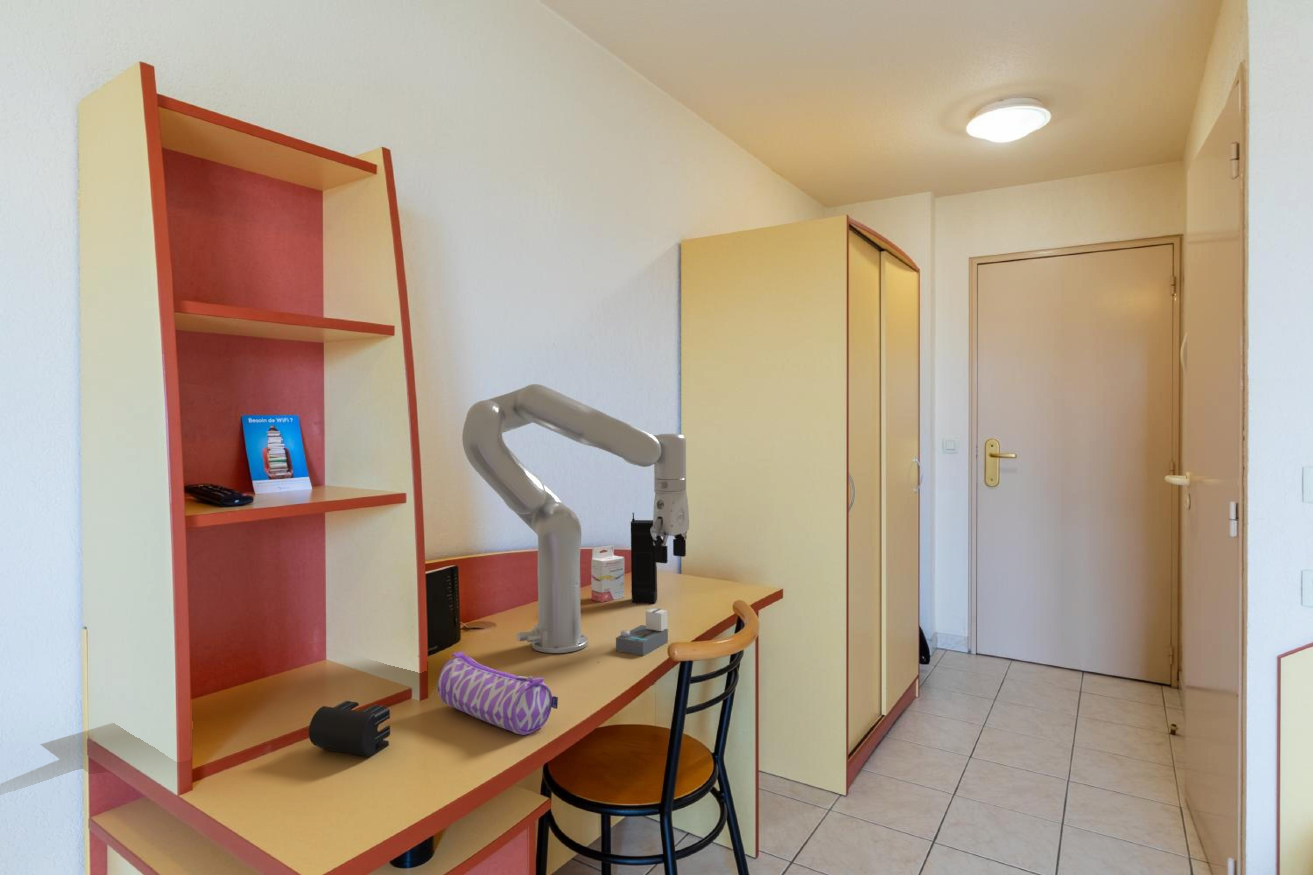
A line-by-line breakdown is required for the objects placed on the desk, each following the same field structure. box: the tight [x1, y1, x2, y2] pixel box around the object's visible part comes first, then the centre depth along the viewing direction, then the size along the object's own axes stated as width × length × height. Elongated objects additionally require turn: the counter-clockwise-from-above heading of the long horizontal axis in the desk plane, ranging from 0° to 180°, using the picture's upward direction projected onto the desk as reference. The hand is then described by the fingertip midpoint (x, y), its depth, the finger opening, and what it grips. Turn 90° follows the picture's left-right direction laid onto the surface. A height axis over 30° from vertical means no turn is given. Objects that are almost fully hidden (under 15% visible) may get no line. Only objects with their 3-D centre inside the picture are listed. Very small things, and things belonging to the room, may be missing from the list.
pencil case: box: [437, 650, 559, 736], centre depth 124 cm, size 22×9×10 cm, turn 55°
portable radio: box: [630, 512, 658, 605], centre depth 203 cm, size 8×6×25 cm
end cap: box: [308, 700, 391, 758], centre depth 113 cm, size 10×7×7 cm
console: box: [615, 624, 669, 657], centre depth 163 cm, size 11×7×4 cm, turn 150°
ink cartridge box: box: [590, 544, 625, 603], centre depth 206 cm, size 9×5×15 cm, turn 133°
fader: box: [645, 608, 669, 631], centre depth 165 cm, size 3×4×4 cm
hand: (670, 559), depth 171 cm, fingers open, 8 cm apart
